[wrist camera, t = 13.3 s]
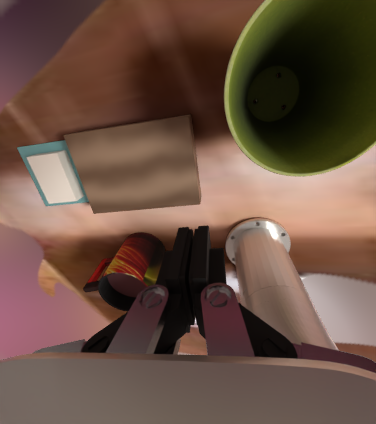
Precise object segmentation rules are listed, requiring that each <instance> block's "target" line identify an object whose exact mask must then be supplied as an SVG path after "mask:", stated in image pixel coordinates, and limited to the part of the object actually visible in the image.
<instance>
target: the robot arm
mask: <svg viewBox="0 0 376 424" xmlns="http://www.w3.org/2000/svg"><path fill="white" fill-rule="evenodd" d="M256 222H257V223H256ZM225 247H226V253H227V256H228V258H229V259H230V260H231V262H232V263H233V264H235V265H236V271H237V278H238V286H239V293H240V300H241V304H240V303H238V301H237V297H236V294H235V292H234V290H233V289H232V288H231V287H230V286H229V285H227V284H226V272H225V260H224V248H213V249H211V243H210V235H209V227H208V226H199V227H198V229H195V233H194V235H193V230H192V229H190V230H189V227H183V228H179V229H178V232H177V236H176V240H175V244H174V247H173V251H166V252H165V255H164V258H163V261H162V264H161V267H160V271H159V274H158V277H157V280H156V283H155V285H151V286H148V287H146V288H144V289H143V290H142V291H140V293H139V294H138V296H137V297H136V299H135V301H134V303H133V304H132V306H131V308H130V310H129V311H128V312H127V313H126V314H124V315H123V316H121V317H120V318H118V319H117V320H115V321H114V322H112V323H111V324H109V325H108V326H107V327H105V328H104V329H102V330H101V331H99V332H98V333H96V334H95V335H94V336H92V337H91V338H90V339H89V340H88V341H85V339H83V340H78V341H74V342H70V343H65V344H60V345H56V346H52V347H47V348H43V349H40V350H38V351H35V352H34V353H32V354H26V355H20V356H15V357H11V358H7V359H3V360H0V424H376V363H375V362H374V361H372V360H371V359H368V358H366V357H363V356H360V355H355V354H351V353H347V352H342V351H339V350H338V348H337V346H336V345H335V343H334V342H333V340H332V338H331V337H330V335H329V333H328V331H327V329H326V328H325V326H324V324H323V322H322V320H321V318H320V317H319V315H318V313H317V311H316V309H315V307H314V305H313V303H312V301H311V299H310V297H309V295H308V293H307V291H306V289H305V287H304V285H303V283H302V281H301V279H300V277H299V275H298V273H297V271H296V268H295V266H294V264H293V262H292V260H291V258H290V256H289V254H288V252H289V250H290V238H289V235H288V233H287V232H286V230H285V229H284V228H283V227H282V226H281V225H280V224H279V223H277V222H275V221H273V220H270V219H264V218H254V219H249V220H246V221H243V222H241V223H240V224H238V225H236V226H235V227H234V228H233V229H232V230H231V231H230V233H229V234H228V236H227V239H226V245H225ZM195 316H196V321H197V325H198V327H199V333H200V334H201V335H202V336H203V337H204V338H205V339H206V345H207V353H208V355H177V353H178V350H179V347H180V341H181V340H180V338H181V337H182V336H183V335H184V334H185V333H190V326H191V325H194V323H195Z"/></svg>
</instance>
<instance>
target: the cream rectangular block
mask: <svg viewBox="0 0 376 424" xmlns="http://www.w3.org/2000/svg"><path fill="white" fill-rule="evenodd" d="M26 158H27V160H28V162H29V164H30V166H31V168H32V170H33V172H34V174H35V176H36V178H37V180H38V183H39V185H40V187H41V189H42V191H43V193H44V195H45V197H46V199H47V201H48V203H49V204H53V203H63V202H73V201H78V200H79V199H80V198H82V197H83V196H84V195H83V192H82V190H81V187H80V185H79V182H78V179H77V177H76V174H75V172H74V169H73V167H72V164H71V162H70V159H69V157H68V154H67V152H66V150H62V151H55V152H48V153H41V154H36V155H32V156H29V157H26Z"/></svg>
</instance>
